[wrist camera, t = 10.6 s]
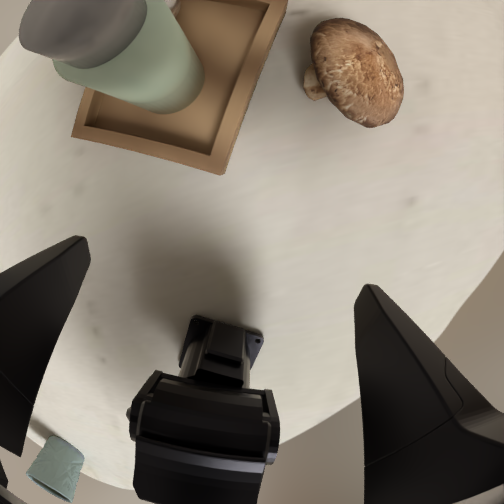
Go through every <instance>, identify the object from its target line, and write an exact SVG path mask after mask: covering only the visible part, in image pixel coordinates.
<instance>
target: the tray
mask: <svg viewBox="0 0 504 504" xmlns="http://www.w3.org/2000/svg"><path fill="white" fill-rule="evenodd" d="M180 4H181V7H180V11H179V13H178V15H177V16H176V17H175V19H176V21H177V22H178V24H179V25H180V27H181V29H182V31H183V32H184V34H185V36H186V37H187V39H188V41H189V42H190V44H191V46H192V48H193V49H194V51H195V53H196V55H197V56H198V58H199V60H200V62H201V63H202V65H203V68H204V73H205V80H204V85H203V88H202V90H201V92H200V94H199V95H198V97H197V98H196V99H195V100H194V101H193V102H192V103H191V104H190V105H189V106H188V107H186V108H185V109H183V110H181V111H178V112H176V113H172V114H156V113H152V112H150V111H148V110H145V109H143V108H141V107H138V106H136V105H133V104H131V103H128V102H126V101H123V100H121V99H118V98H115V97H113V96H110V95H107V94H105V93H102V92H99V91H96V90H94V89H91V88H88V87H85V90H84V93H83V96H82V99H81V103H80V106H79V109H78V113H77V116H76V120H75V123H74V127H73V131H72V135H71V137H74V138H79V139H84V140H88V141H93V142H97V143H102V144H106V145H110V146H115V147H119V148H123V149H127V150H131V151H135V152H139V153H143V154H147V155H151V156H154V157H158V158H162V159H165V160H169V161H173V162H176V163H180V164H183V165H187V166H190V167H194V168H197V169H200V170H204V171H207V172H210V173H214V174H217V175H223V174H225V171H226V168H227V165H228V162H229V159H230V156H231V153H232V150H233V147H234V144H235V141H236V139H237V136H238V133H239V130H240V127H241V124H242V122H243V119H244V116H245V113H246V111H247V108H248V105H249V102H250V100H251V97H252V94H253V92H254V89H255V87H256V84H257V81H258V79H259V76H260V74H261V71H262V69H263V66H264V63H265V61H266V58H267V56H268V54H269V51H270V49H271V46H272V44H273V41H274V39H275V37H276V34H277V32H278V30H279V27H280V25H281V23H282V20H283V18H284V16H285V13H286V8H287V4H288V0H180Z"/></svg>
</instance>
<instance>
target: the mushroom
mask: <svg viewBox="0 0 504 504" xmlns="http://www.w3.org/2000/svg"><path fill="white" fill-rule="evenodd" d="M310 45H311V56H312V61H313V63H312V64H311V65H310V66H309V67H308V68H307V69H306V71H305V75H304V80H303V87H304V90H305V93H306V95H307V96H308V97H309V98H310V99H312V100H314V101H315V100H318V99H321V98H323V97H326V96H327V97H328V98H329V100H330V102H332V103H333V104H334V105H335V106H336V107H337V108H338V109H339V110H340V111H341V112H342V114H343V115H344V116H345V117H346V118H348V119H350V120H352V121H355V122H357V123H359V124H361V125H363V126H365V127H367V128H373V127H377V126H380V125H383V124H386V123H389V122H390V121H391V120H392V119H394V117H395V116H396V114H397V112H398V110H399V108H400V105H401V103H402V100H403V94H404V87H403V78H402V76H401V73H400V71H399V68H398V66H397V63H396V60H395V57H394V55H393V53H392V52H391V50H390V49H389V48H388V46H387V45H386V44H385V42H384V41H383V40H382V39H381V37H380V36H379V35H378V34H377V33H375V32H374V31H373V30H371V29H370V28H368V27H367V26H366V25H363V24H361V23H358V22H356V21H353V20H350V19H345V18H335V19H330V20H326V21H323V22H321V23H320V24H318V25H317V26H316V28H315V29H314V31H313V34H312V36H311V38H310Z"/></svg>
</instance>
